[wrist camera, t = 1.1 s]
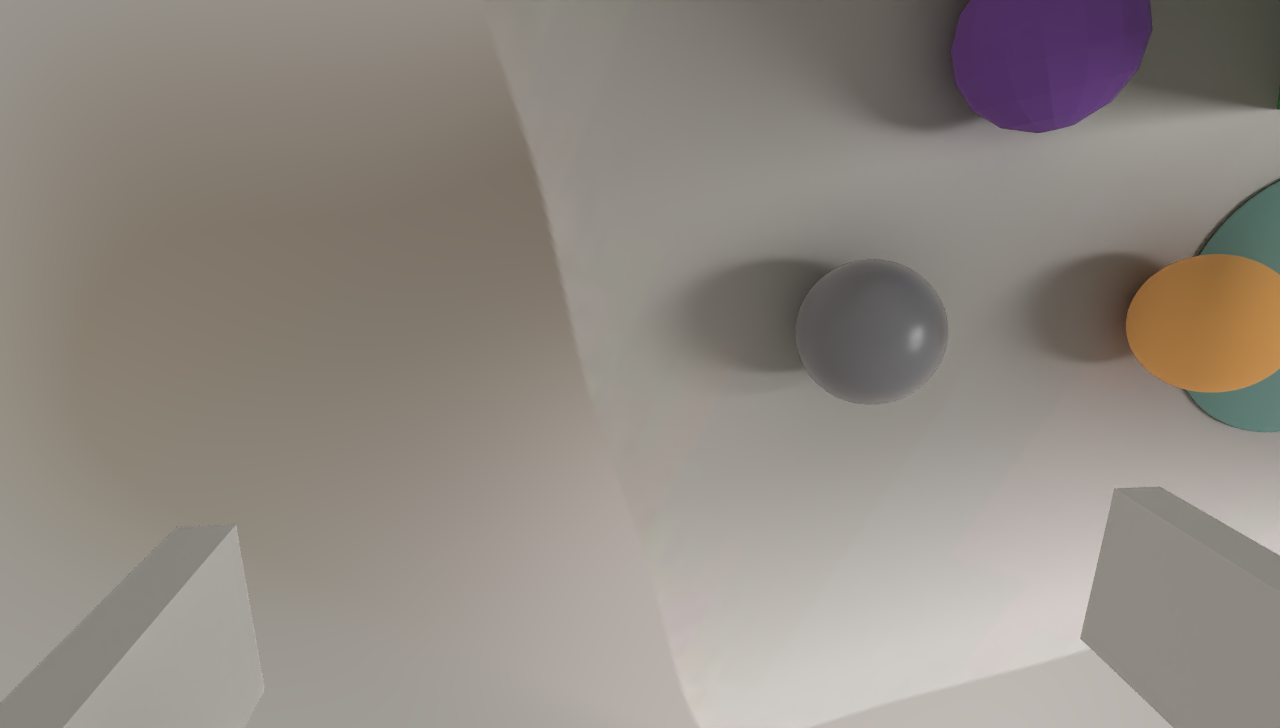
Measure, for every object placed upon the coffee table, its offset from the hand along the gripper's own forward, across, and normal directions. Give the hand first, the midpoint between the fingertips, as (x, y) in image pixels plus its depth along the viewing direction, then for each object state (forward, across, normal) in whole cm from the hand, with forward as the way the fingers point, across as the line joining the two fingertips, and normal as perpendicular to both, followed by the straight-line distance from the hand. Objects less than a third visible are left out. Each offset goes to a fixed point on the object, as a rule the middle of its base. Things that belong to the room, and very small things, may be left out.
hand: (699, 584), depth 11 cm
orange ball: (+16, +24, 0) cm, 29 cm away
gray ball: (+16, +10, 0) cm, 19 cm away
